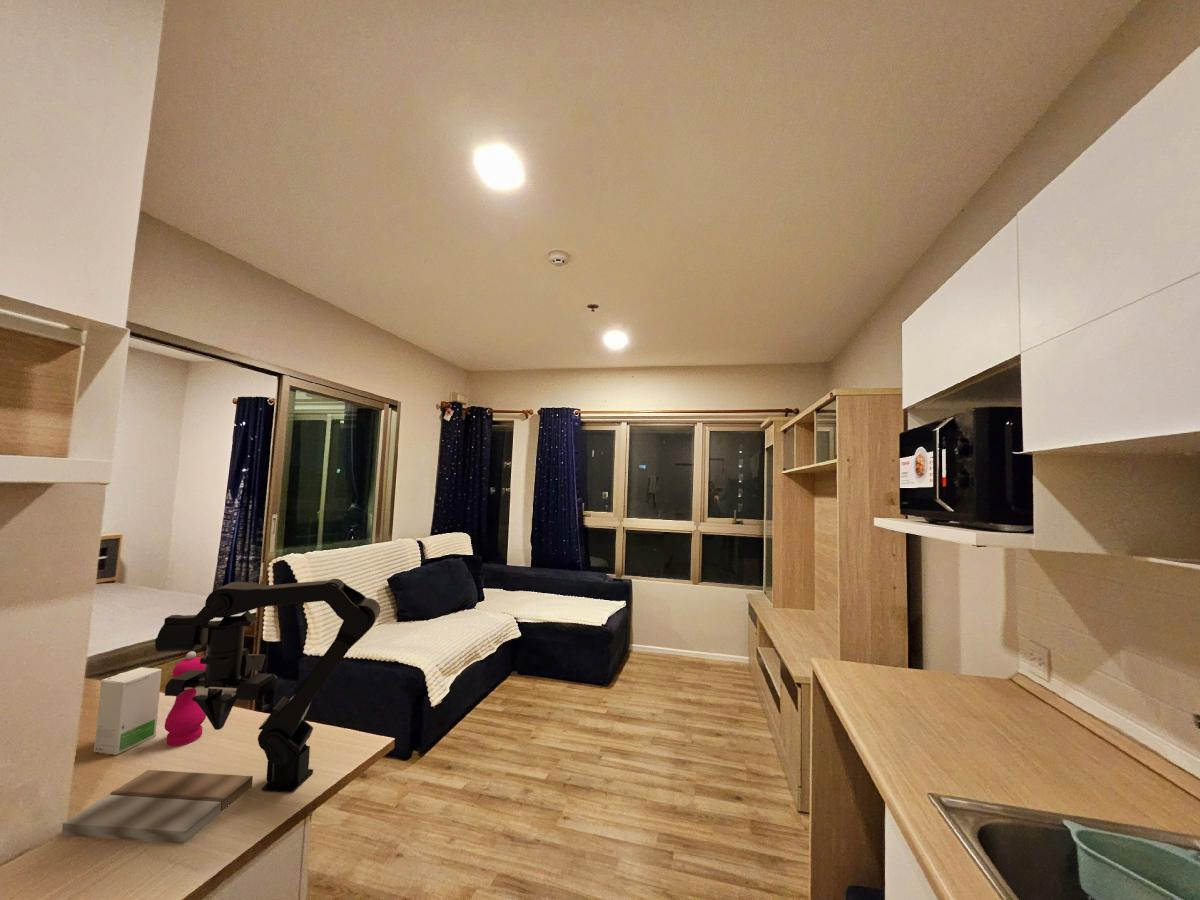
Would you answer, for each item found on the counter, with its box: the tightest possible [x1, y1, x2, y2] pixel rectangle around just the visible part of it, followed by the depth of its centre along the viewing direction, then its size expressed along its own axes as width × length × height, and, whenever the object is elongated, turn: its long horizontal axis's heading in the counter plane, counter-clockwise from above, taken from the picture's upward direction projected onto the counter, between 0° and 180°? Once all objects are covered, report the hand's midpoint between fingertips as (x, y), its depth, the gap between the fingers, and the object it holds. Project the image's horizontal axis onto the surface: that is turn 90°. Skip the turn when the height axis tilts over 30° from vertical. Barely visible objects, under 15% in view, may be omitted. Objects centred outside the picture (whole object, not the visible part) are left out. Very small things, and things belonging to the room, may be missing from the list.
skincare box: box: [93, 666, 162, 756], centre depth 105 cm, size 8×7×16 cm
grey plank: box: [61, 794, 222, 845], centre depth 82 cm, size 22×7×2 cm, turn 88°
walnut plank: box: [109, 769, 254, 812], centre depth 89 cm, size 22×7×2 cm, turn 88°
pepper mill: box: [164, 651, 207, 747], centre depth 107 cm, size 7×7×20 cm
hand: (219, 728), depth 91 cm, fingers closed
